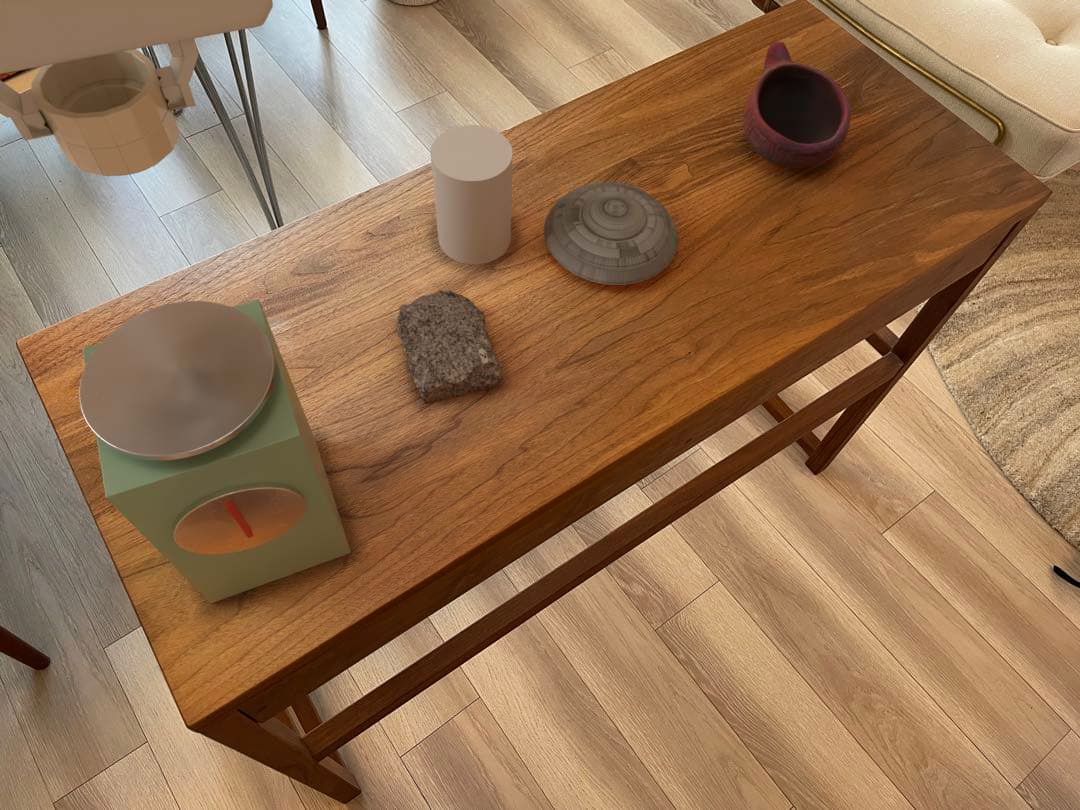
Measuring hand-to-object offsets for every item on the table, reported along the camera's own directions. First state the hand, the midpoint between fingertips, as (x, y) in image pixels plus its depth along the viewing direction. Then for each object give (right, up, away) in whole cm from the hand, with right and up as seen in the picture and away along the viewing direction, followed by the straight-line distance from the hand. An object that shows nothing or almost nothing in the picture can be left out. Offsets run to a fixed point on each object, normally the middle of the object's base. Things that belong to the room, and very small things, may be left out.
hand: (112, 116), depth 45 cm
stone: (+15, -11, +36) cm, 40 cm away
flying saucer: (+32, +2, +45) cm, 55 cm away
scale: (0, -27, +25) cm, 37 cm away
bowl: (+54, +17, +55) cm, 79 cm away
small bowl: (0, -1, +2) cm, 2 cm away
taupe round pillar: (+17, +2, +44) cm, 47 cm away
